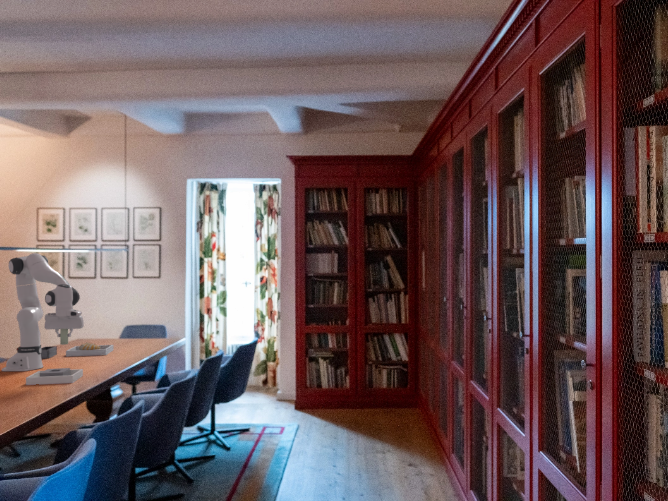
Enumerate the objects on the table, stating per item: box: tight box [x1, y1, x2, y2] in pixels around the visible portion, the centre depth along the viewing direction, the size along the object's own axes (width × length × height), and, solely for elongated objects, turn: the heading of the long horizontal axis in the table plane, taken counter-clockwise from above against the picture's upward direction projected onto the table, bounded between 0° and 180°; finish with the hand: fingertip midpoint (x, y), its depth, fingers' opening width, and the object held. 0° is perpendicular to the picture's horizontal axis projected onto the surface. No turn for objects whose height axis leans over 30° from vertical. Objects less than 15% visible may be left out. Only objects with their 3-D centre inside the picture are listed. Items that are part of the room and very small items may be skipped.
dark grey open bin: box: [41, 345, 58, 360], centre depth 374 cm, size 8×16×6 cm, turn 9°
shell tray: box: [65, 344, 114, 357], centre depth 386 cm, size 27×21×4 cm
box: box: [25, 367, 84, 386], centre depth 299 cm, size 24×18×6 cm
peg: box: [59, 329, 69, 346], centre depth 303 cm, size 4×4×9 cm
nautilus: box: [79, 341, 100, 350], centre depth 386 cm, size 8×21×15 cm
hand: (64, 336), depth 303 cm, fingers closed on peg, 4 cm apart
